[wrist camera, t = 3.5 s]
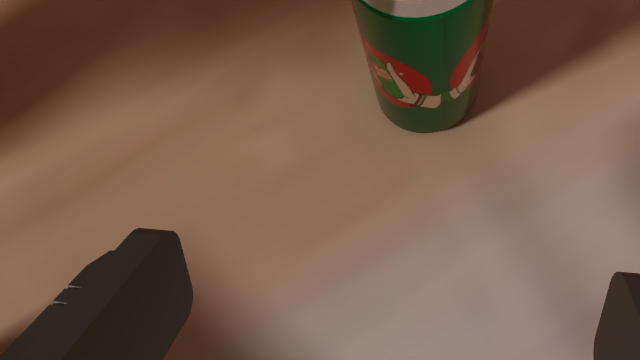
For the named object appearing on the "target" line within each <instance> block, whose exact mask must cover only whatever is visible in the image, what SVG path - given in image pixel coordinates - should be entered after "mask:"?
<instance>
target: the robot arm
mask: <svg viewBox="0 0 640 360" xmlns="http://www.w3.org/2000/svg"><path fill="white" fill-rule="evenodd" d="M53 301H54V303H53V305H49V306H48V307H47V308H46V309H45V310H44V311H43V312H42V313H41V314H40V315H39V316H38V317H37V318H36V319H35V321H34V322H33V323H32V324H31V325H30V326H29V327H28V328H27V329H26V330H25V331H24V332H23V333H22V334H21V335H20V336H19V337H18V338H17V340H16V341H15V342H14V343H13V344H12V345H11V346H10V347H9V348H8V349H7V350H6V351H5V352H4V353H3V354H2V355H1V356H0V360H162V359H163V357H164V356H165V354H166V353H167V351H168V349H169V348H170V346H171V344H172V343H173V341H174V339H175V338H176V336H177V335H178V333H179V331H180V330H181V328H182V326H183V325H184V323H185V321H186V320H187V318H188V316H189V313H190V310H191V307H192V301H193V289H192V285H191V281H190V277H189V273H188V269H187V265H186V262H185V258H184V254H183V250H182V246H181V242H180V239H179V237H178V235H177V234H176V233H175V232H174V231H167V230H156V229H144V228H138V229H135V230H133V231H132V232H131V233H130V234H129V235H128V236H127V238H126V239H125V240H124V241H123V242H122V243H121V244H120V245H119V246H118V247H117V249H116V250H115V251H109V252H107V253H106V254H104V255H103V256H101V257H100V258H98V259H96V260H95V261H93V262H92V263H90V264H88V265H87V266H86V267H85V268H84V269H83V270H82V271H81V272H80V273H79V274H78V275H77V276H76V277H75V278H74V279H73V280H72V281H71V283H70V284H69V287H68V289H64V290H63V291H62V292H61V293H60V294H59V295H58V296H57V297H56V298H55V299H54V300H53ZM594 360H640V274H638V273H627V272H616V273H615V274H614V275H613V277H612V279H611V282H610V285H609V289H608V292H607V296H606V299H605V303H604V307H603V310H602V314H601V317H600V321H599V325H598V328H597V332H596V336H595V341H594Z"/></svg>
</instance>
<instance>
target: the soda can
mask: <svg viewBox="0 0 640 360" xmlns="http://www.w3.org/2000/svg"><path fill="white" fill-rule="evenodd" d="M351 2H352V5H353V9H354V13H355V17H356V20H357V24H358V28H359V32H360V35H361V39H362V43H363V47H364V50H365V54H366V58H367V61H368V65H369V69H370V73H371V76H372V80H373V84H374V88H375V91H376V95H377V99H378V102H379V105H380V107H381V109H382V111H383V112H384V114H385V115H386V116H387V118H388V119H389V120H390V121H392V122H393V123H394V124H395V125H397V126H399V127H401V128H403V129H405V130H408V131H411V132H416V133H433V132H438V131H441V130H444V129H447V128H449V127H451V126H453V125H454V124H456V123H457V122H458V121H460V120H461V119H462V118H463V117H464V116H465V115H466V114H467V112H468V111H469V110H470V108H471V106H472V104H473V102H474V100H475V96H476V92H477V87H478V81H479V76H480V70H481V64H482V59H483V53H484V48H485V42H486V36H487V31H488V25H489V20H490V14H491V8H492V3H493V0H351Z"/></svg>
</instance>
